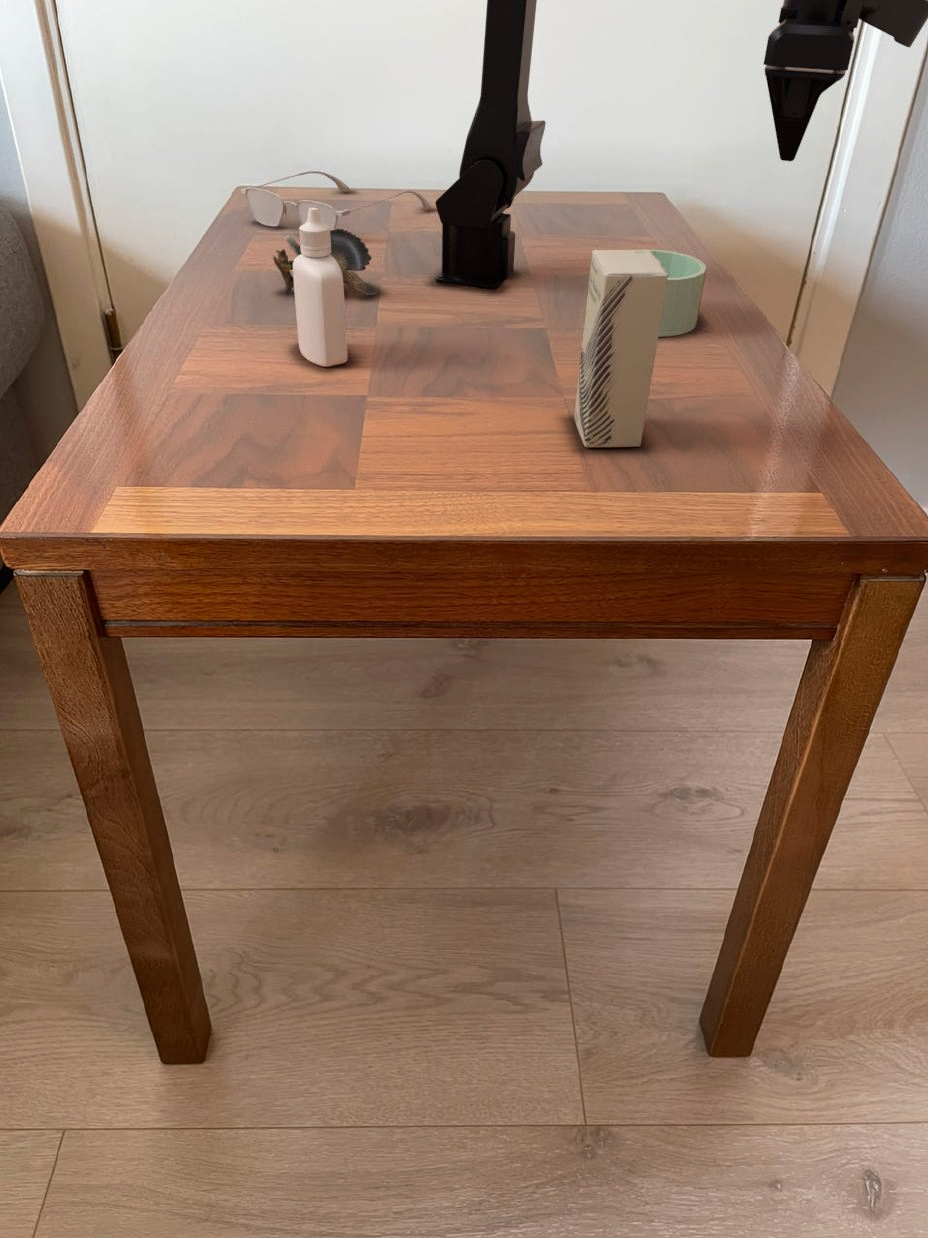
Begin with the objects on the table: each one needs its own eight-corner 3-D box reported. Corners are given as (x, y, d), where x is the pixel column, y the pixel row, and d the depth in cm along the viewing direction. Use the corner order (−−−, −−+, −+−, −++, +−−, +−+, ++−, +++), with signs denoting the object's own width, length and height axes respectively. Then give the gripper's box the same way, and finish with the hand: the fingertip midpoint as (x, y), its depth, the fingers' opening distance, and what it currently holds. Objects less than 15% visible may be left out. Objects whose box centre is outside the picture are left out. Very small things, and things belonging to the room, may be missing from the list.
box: (572, 419, 75) (588, 247, 67) (628, 418, 75) (651, 246, 67) (584, 451, 71) (603, 272, 63) (644, 450, 71) (670, 271, 63)
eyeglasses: (242, 220, 115) (238, 184, 113) (342, 189, 127) (340, 156, 125) (342, 245, 108) (340, 207, 106) (437, 210, 120) (437, 175, 118)
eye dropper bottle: (350, 343, 86) (343, 199, 79) (347, 368, 81) (338, 219, 74) (300, 342, 86) (288, 198, 78) (294, 368, 81) (281, 218, 74)
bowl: (596, 329, 90) (602, 272, 87) (614, 299, 96) (620, 244, 93) (689, 342, 88) (699, 284, 85) (702, 310, 94) (711, 255, 91)
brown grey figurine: (281, 301, 91) (376, 281, 90) (264, 223, 90) (359, 203, 90) (294, 319, 98) (382, 300, 98) (278, 247, 98) (366, 229, 97)
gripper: (955, -62, 66) (889, 183, 76) (939, -72, 80) (886, 136, 90) (786, -68, 69) (743, 169, 78) (800, -76, 83) (762, 125, 93)
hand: (790, 148), depth 85 cm, fingers open, 9 cm apart
